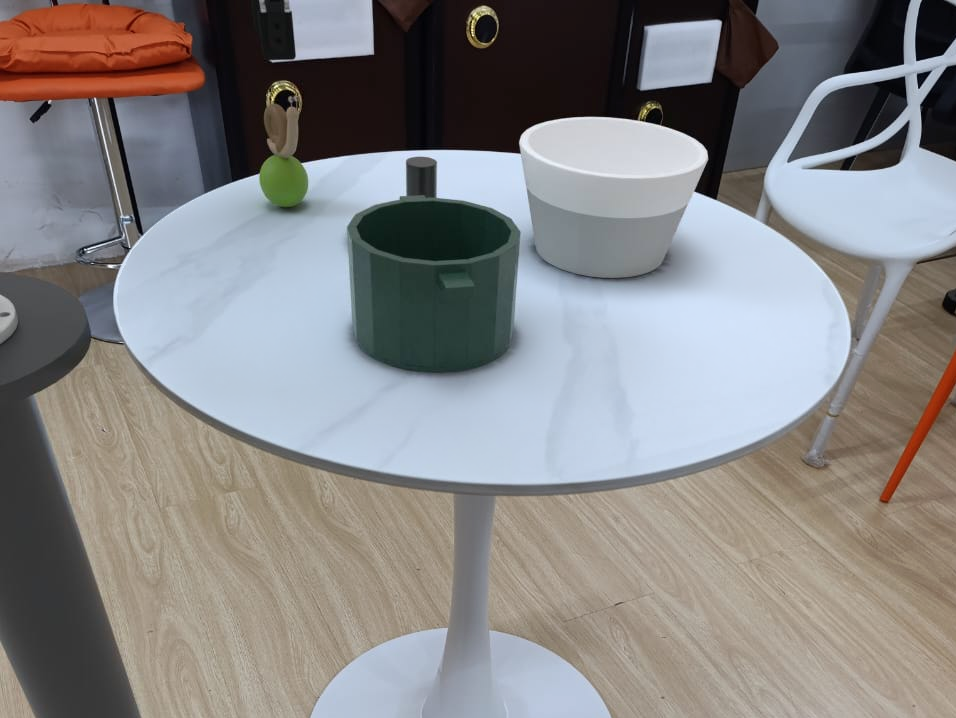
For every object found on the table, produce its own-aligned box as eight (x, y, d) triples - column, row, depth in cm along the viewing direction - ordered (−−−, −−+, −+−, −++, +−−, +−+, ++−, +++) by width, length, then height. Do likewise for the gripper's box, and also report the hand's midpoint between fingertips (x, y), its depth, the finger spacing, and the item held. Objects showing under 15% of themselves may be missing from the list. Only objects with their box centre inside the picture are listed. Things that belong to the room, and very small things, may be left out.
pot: (372, 395, 77) (368, 283, 70) (340, 291, 91) (333, 190, 84) (539, 380, 80) (549, 272, 73) (483, 282, 94) (487, 184, 87)
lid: (361, 276, 93) (357, 191, 88) (340, 218, 104) (335, 139, 98) (509, 267, 97) (514, 185, 91) (473, 212, 107) (476, 135, 101)
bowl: (724, 268, 99) (748, 160, 91) (581, 303, 91) (595, 189, 84) (614, 208, 110) (628, 108, 103) (478, 235, 102) (483, 129, 95)
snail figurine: (284, 220, 103) (272, 100, 94) (253, 203, 106) (238, 85, 98) (324, 210, 105) (316, 92, 97) (292, 193, 109) (282, 78, 100)
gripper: (205, -185, 88) (233, 26, 100) (213, -166, 76) (243, 70, 88) (284, -183, 89) (302, 25, 101) (304, -164, 77) (322, 68, 90)
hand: (275, 46), depth 95 cm, fingers open, 9 cm apart
